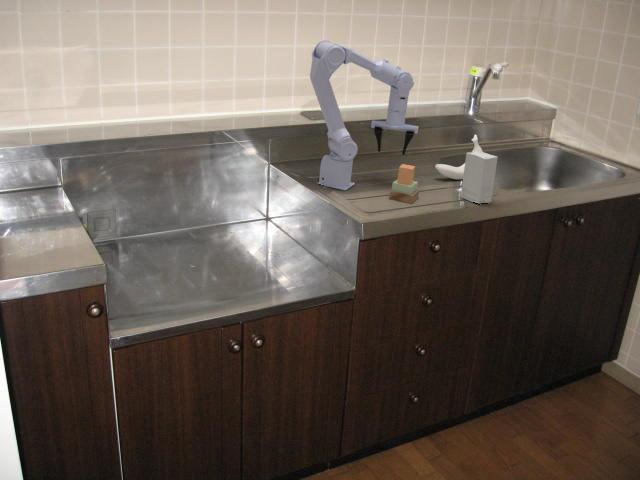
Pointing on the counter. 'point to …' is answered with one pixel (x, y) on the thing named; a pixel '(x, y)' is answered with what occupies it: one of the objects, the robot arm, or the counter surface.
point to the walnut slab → (404, 196)
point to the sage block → (404, 187)
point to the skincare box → (479, 177)
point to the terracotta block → (406, 174)
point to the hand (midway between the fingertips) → (391, 152)
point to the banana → (457, 171)
